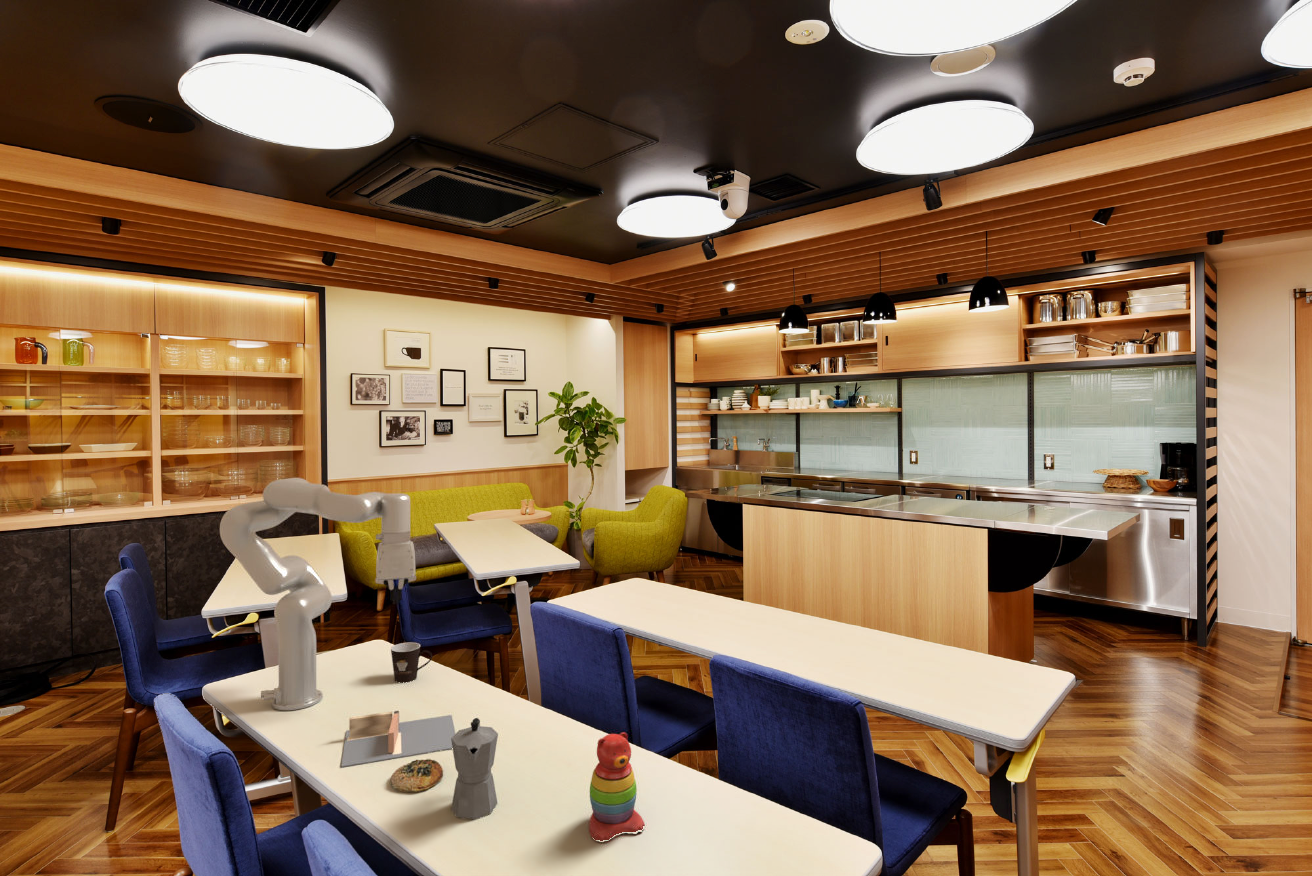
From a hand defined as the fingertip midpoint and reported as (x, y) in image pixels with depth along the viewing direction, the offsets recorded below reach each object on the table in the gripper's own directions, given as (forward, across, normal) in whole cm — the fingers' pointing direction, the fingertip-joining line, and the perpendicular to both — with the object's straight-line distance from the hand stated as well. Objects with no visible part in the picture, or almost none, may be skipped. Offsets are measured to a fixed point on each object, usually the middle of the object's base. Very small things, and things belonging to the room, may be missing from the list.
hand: (396, 602), depth 186 cm
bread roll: (+30, +4, -44) cm, 53 cm away
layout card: (+29, +1, -22) cm, 37 cm away
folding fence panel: (+28, -1, -24) cm, 38 cm away
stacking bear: (+29, +40, -75) cm, 90 cm away
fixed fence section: (+29, -6, -18) cm, 35 cm away
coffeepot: (+29, +15, -58) cm, 67 cm away
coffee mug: (+29, +4, +18) cm, 35 cm away
